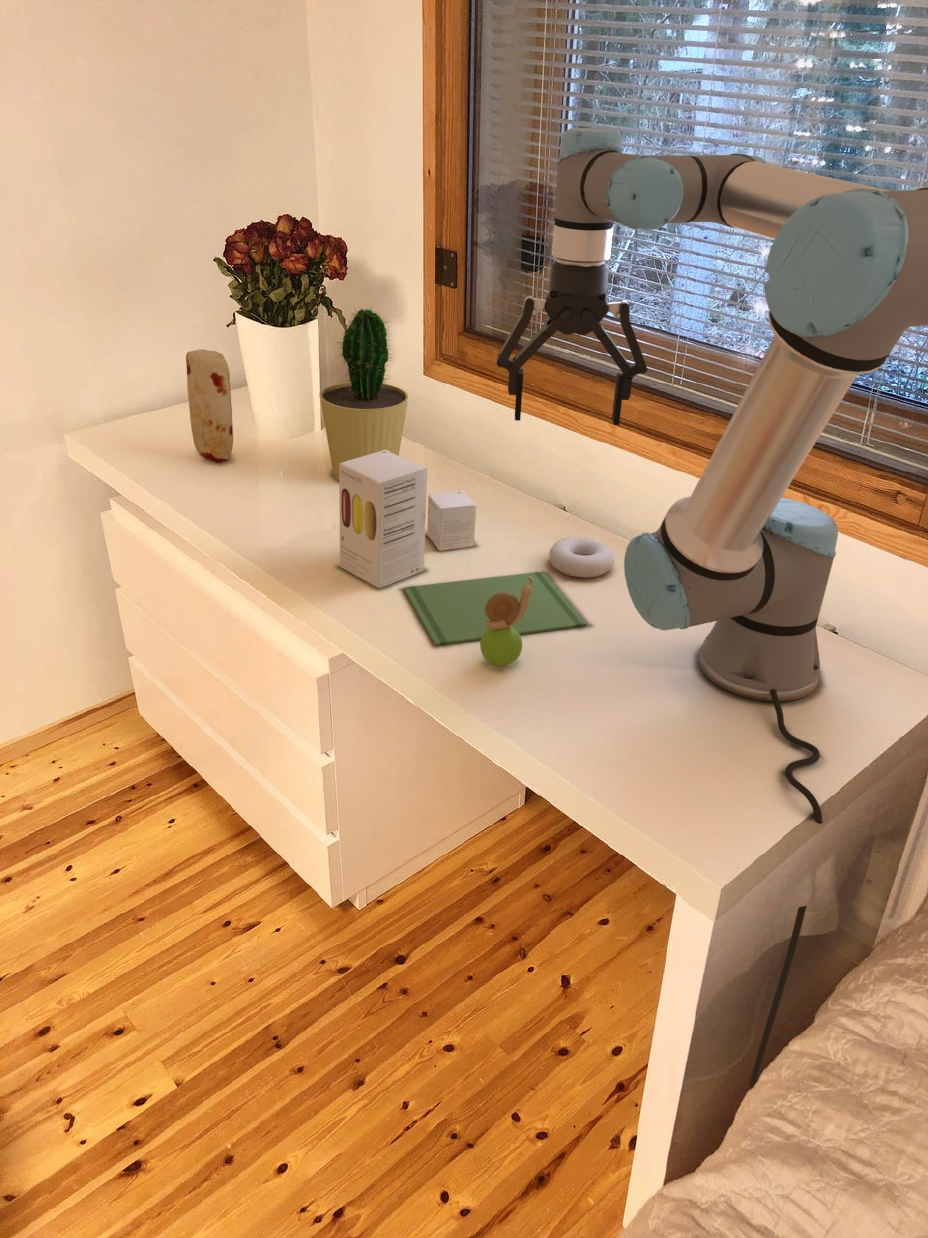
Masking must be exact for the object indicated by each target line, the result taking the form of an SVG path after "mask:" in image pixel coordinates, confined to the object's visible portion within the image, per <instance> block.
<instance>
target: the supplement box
mask: <svg viewBox="0 0 928 1238" xmlns="http://www.w3.org/2000/svg"><path fill="white" fill-rule="evenodd" d="M339 477H340V481H339V567H340V568H342V569H344V570H345V571H347V572H349V573H351V574H352V575H354V576H356V577H357V578H359V579H361V580H362V581H365V582H366V583H367V584H370V585H372V586H373V587H375V588H377V589H382V588H384V587H387V586H389V585H392V584H394V583H397V582H399V581H402V580H404V579H407V578H409V577H412V576H414V575H416V574H419V573H422V572H424V569H425V548H426V547H425V545H426V543H425V542H426V519H427V515H426V513H427V493H428V492H427V491H428V467H426V466H423V465H421V464H418V463H416V462H414V461H411V460H409V459H407V458H404V457H402V456H400V455H399V456H398V455H396V454H394V453H392V452H390V451H388V450H383V451H379V452H376V453H373V454H369V455H366V456H362V457H359V458H356V459H352V460H348V461H345V462H342V463H340V464H339Z"/></svg>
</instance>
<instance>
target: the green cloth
mask: <svg viewBox="0 0 928 1238" xmlns="http://www.w3.org/2000/svg"><path fill="white" fill-rule="evenodd" d="M529 576H531V578H532V579H533V580H534V582H533V583H531V582H530V584H529V580H528V577H529ZM526 585H529V586H530V587H531V585H532V593H531V595H530V598H529V602H528V605H527V608H526V611H525V613H524V615H523V617H522V618H521V620H520V621H519V622H517V623H516V624H514V625H512V627H513V628H515V629H516V630H517V631H518V633H519V634H520V635H526V634H535V633H542V632H549V631H557V630H566V629H572V628H578V627H586V626H587V622H586V621H585V620H584V619H583V617H582V616H581V614H579V612H578V611H577V610H576V608H574V606H573V605H572V603H571V602H570V601H569V600H568V599H567V598H566V596H565V595H564V594H563V593H562V591H561V590H560V589H559V587H558V586H557V585H556V584H555V583H554V582H553V580H552V579H551V578H550V577H549V576H548V574H547V573H546V572H545V571H536V572H529V573H528V572H527V573H521V574H511V575H510V574H509V575H503V576H502V575H501V576H493V577H483V578H475V579H468V580H466V579H465V580H458V581H449V582H439V583H432V584H431V583H430V584H421V585H412V586H404V587H403V590H404V593H405V594H406V596H407V599H408V600H409V601H410V604H411V606H412V607H413V609H414V610H415V612H416V615H417V616H418V618H419V619H420V621H421V623H422V624H423V626H424V628H425V630H426V632H427V634H428V635H429V637H430V639H431V640H432V643H433V644H434V646H443V645H450V644H458V643H465V642H473V641H481V638H482V635H483V634H484V632H485V631H486V630H487V629H488V628H489V627H487V626H486V625H485V622H487V621H491V620H490V619H488V618H487V616H486V614H485V606H486V603H487V602H488V600H489V599H490V598H491V597H492V596H493V595H495V594H497V593H501V592H508V593H511V594H513V595H514V596H515V597H516V598H517V600H518V602H519V601H520V598H521V595H522V593H521V589H522V588H523V587H524V586H526Z"/></svg>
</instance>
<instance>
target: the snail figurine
mask: <svg viewBox="0 0 928 1238" xmlns="http://www.w3.org/2000/svg"><path fill="white" fill-rule="evenodd" d="M528 580H529V584H530V582H531V583H533V582H534V580H533V579H532V578H531V576H529V577H528ZM521 593H522V595H521V598H520V601H519V602H518V600H517V598H516V597H515V596H514V595H513V594H511V593H508V592H501V593H497V594H495V595H493V596H492V597H491V598H490V599H489V600H488V602H487V603H486V606H485V614H486V616H487V618H488V619H490V620H491V621H487V622H485V625H486V626H487V627H489V628H488V629H487V630H486V631H485V632H484V634H483V635H482V638H481V640H480V641H479V642H480V643H479V646H480V648H479V649H480V652H481V654H482V656H483V657H484V659H485V660H486V661H487V662H489V663H490V664H492V665H494V666H499V667H504V666H505V667H506V666H508V665H511V664H513V663H515V662H516V661H517V660H518V658H519V657H520V655H521V654H522V651H523V639H522V637H521V634H519V633H518V631H517V630H516V629H515V628H513V627H512V625H514V624H516V623H517V622H519V621H520V620H521V618H522V617H523V615H524V613H525V611H526V608H527V605H528V602H529V598H530V595H531V593H532V585H531V587H530V586H529V585H526V586H524V587H523V588H522V589H521Z"/></svg>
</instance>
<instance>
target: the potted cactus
mask: <svg viewBox="0 0 928 1238" xmlns="http://www.w3.org/2000/svg"><path fill="white" fill-rule="evenodd" d="M373 306H374V305H372V307H370V309H369V308H365V309H364V308H361V307H360V306H359V310H357V308H356V307H355V306H354V305H353V307H354V313H353V312H352V310H350V311H351V313H352V314H351V315H350V318H351V319H347V320H348V323H349V325H348V327H347V328H344V329H345V330H341V329H340V331H341V332H344V334H342V336H343V337H342V338H340V341H337V342H336V344H338V345H340V346H339V350H341V351H340V354H341V355H340V356H339V358H340V360H342V361H343V364H344V365H343V366H345V369H347V371H345V374H344V375H342V376H343V378H348V379H344V380H346V381H345V382H339V383H335V384H332V385H329V386H327V387H324V388H323V389H321V391H320V392H319V395H318V396H319V398H320V405H321V410H322V417H323V423H324V428H325V433H326V441H327V447H328V451H329V458H330V463H331V470H332V473H333V477H334V478H335V479H336V480H337V481H339V482H340V477H339V464H340V463H342V462H345V461H348V460H352V459H356V458H359V457H362V456H366V455H369V454H373V453H376V452H379V451H383V450H388V451H390V452H392V453H394V454H396V455H398V456H400V451H401V443H402V438H403V432H404V425H405V419H406V414H407V410H408V409H407V407H408V399H409V394H408V393H407V392H406V390H404V389H403V388H400V387H398V386H396V385H393V384H388V383H387V382H386V381H390V379H388V378H387V377H389V378H390V377H391V376H390V375H386V374H385V373H386V368H387V367H389V364H387V363H388V362H391V360H392V359H393V358H394V355H391V354H389V350H390V349H391V348H388V347H390V344H388V342H389V341H390V339H388V338H389V334H388V332H389V329H388V328H389V327H391V324H390V325H389V326H387V327H386V324H388V323H389V322H390V320H388V321H387V318H385V317H381V313H380V314H379V313H378V312H374V310H372V308H374V307H373ZM352 316H353V317H352ZM391 335H393V334H392V333H391ZM392 362H394V361H393V360H392ZM385 376H387V377H385Z"/></svg>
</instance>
